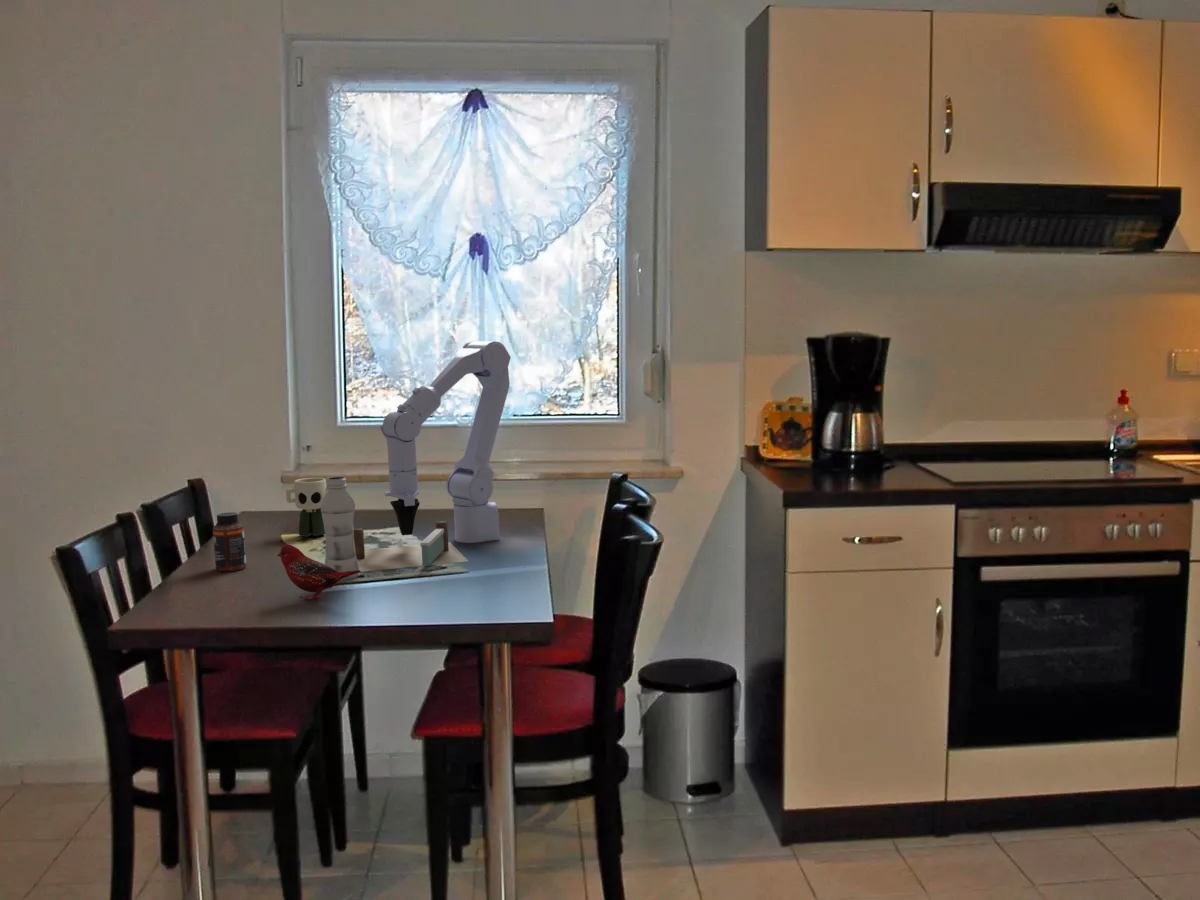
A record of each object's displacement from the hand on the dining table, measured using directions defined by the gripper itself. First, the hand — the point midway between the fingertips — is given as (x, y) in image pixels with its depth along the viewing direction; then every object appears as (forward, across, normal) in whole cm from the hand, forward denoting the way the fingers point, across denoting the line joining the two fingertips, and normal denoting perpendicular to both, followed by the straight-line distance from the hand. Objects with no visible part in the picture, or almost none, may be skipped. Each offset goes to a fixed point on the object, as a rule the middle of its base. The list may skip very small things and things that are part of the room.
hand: (406, 534), depth 238 cm
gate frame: (+4, +5, -1) cm, 7 cm away
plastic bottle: (+4, +18, -15) cm, 24 cm away
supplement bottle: (+4, -3, -35) cm, 36 cm away
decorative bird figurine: (+4, +31, -20) cm, 37 cm away
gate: (+3, +11, +4) cm, 12 cm away
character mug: (+5, -30, -17) cm, 35 cm away
